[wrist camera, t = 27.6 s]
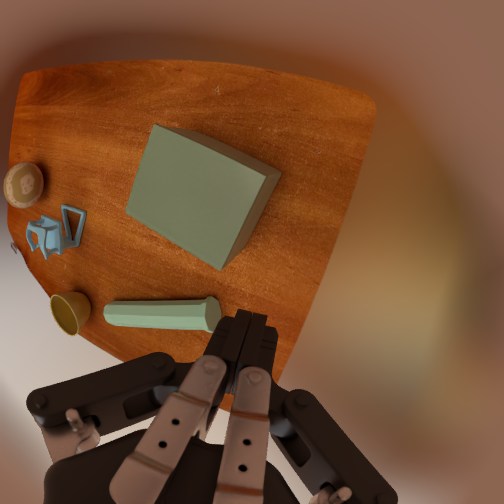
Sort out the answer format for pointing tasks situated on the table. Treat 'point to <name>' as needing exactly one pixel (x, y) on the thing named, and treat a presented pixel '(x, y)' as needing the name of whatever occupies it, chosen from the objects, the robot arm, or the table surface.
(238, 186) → the lid
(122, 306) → the green rod
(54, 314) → the flower pot
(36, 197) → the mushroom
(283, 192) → the table surface
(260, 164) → the chest
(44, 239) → the chair
